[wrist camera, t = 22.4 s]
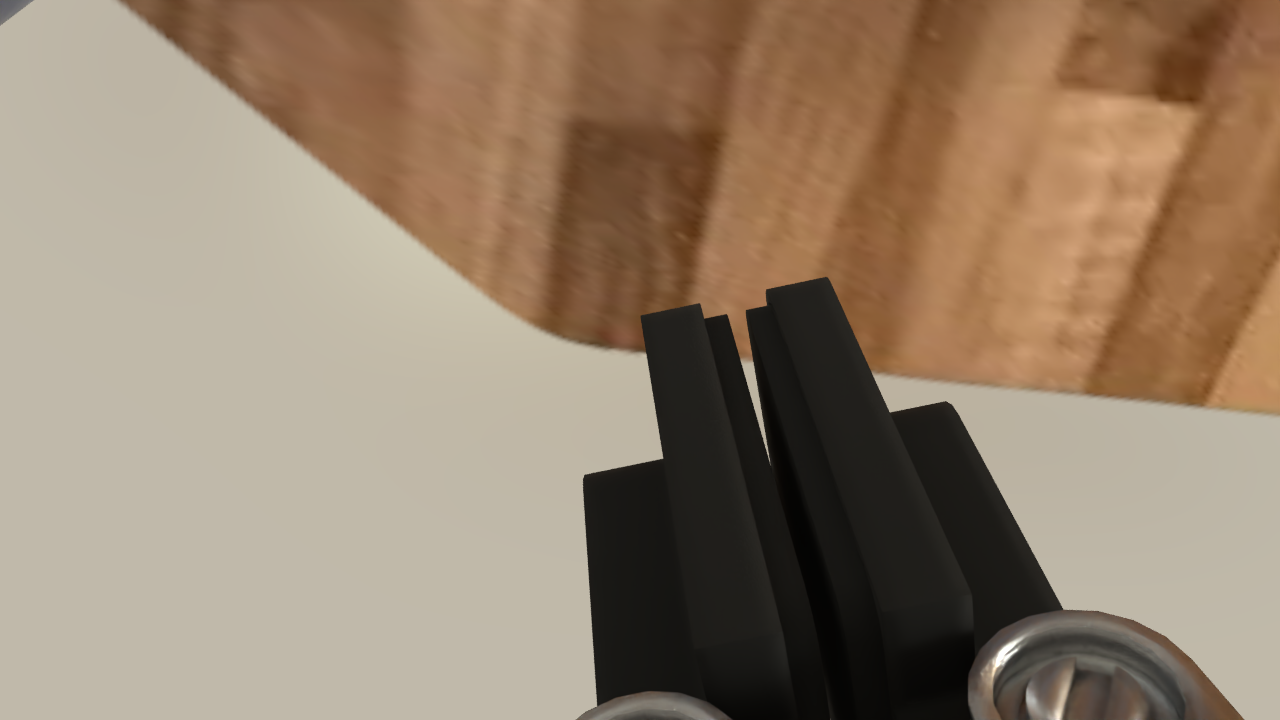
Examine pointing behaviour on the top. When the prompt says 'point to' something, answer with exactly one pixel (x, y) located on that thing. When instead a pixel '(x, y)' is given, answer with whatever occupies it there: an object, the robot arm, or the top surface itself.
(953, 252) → the top surface
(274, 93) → the top surface
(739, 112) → the top surface
